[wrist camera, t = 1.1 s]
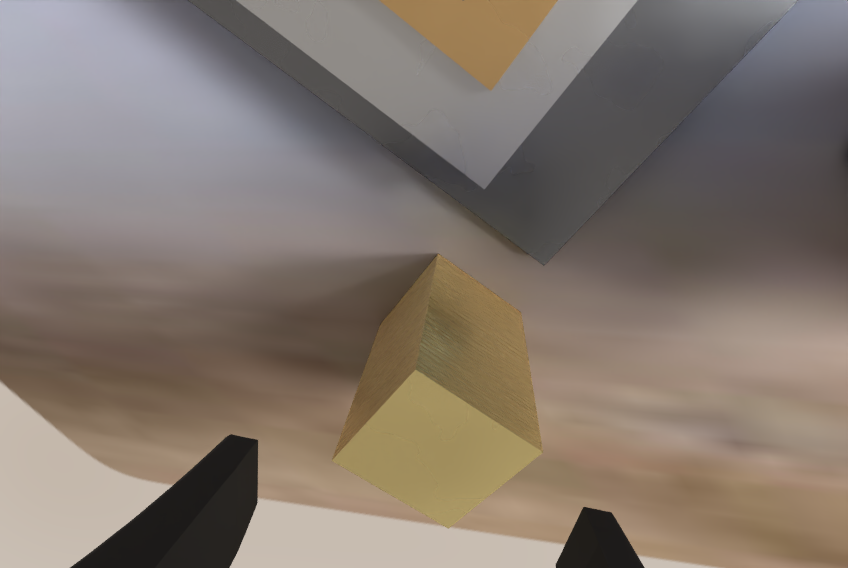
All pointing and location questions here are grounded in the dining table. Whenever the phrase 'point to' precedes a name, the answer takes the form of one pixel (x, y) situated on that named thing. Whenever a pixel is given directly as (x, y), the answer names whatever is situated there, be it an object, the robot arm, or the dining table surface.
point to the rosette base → (574, 123)
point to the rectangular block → (443, 398)
